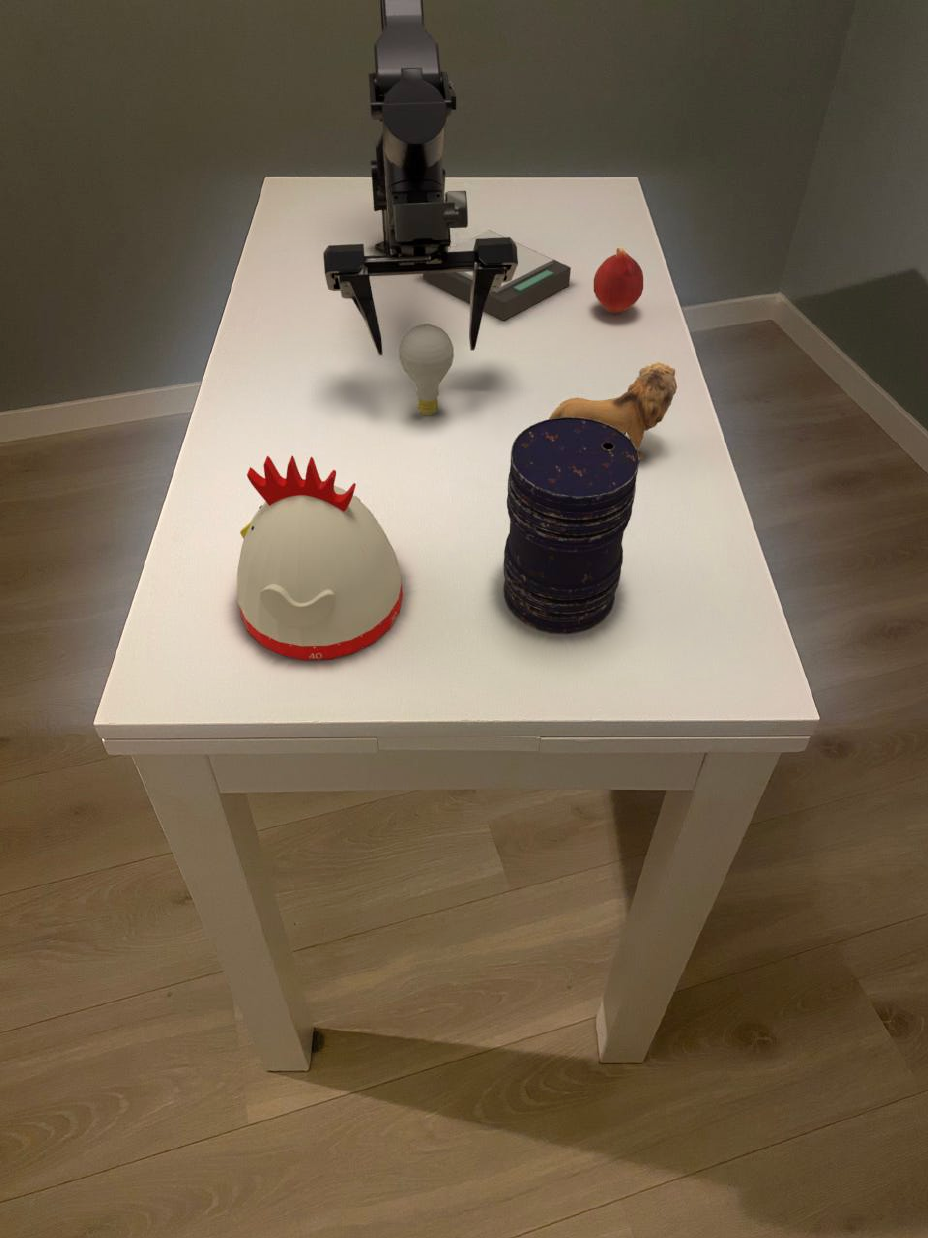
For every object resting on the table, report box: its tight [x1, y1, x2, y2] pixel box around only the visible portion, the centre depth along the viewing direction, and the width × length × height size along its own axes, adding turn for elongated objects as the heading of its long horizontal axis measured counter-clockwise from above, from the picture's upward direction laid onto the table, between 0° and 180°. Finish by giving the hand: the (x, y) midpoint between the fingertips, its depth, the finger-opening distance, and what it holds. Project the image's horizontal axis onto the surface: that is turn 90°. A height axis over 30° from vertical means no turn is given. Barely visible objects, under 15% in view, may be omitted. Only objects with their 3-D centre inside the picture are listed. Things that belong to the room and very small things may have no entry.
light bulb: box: [398, 323, 455, 416], centre depth 95 cm, size 6×6×10 cm
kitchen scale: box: [422, 229, 572, 322], centre depth 116 cm, size 14×12×3 cm
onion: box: [593, 247, 644, 314], centre depth 109 cm, size 6×6×8 cm
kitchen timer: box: [236, 455, 404, 661], centre depth 75 cm, size 14×14×15 cm
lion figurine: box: [548, 362, 678, 462], centre depth 91 cm, size 15×5×9 cm, turn 110°
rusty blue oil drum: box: [502, 417, 640, 635], centre depth 76 cm, size 10×10×15 cm
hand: (426, 351), depth 93 cm, fingers open, 9 cm apart
